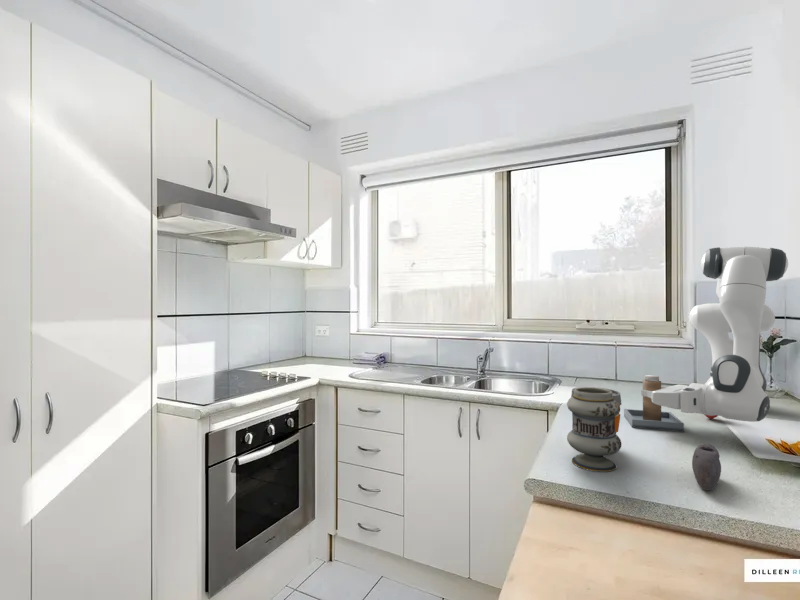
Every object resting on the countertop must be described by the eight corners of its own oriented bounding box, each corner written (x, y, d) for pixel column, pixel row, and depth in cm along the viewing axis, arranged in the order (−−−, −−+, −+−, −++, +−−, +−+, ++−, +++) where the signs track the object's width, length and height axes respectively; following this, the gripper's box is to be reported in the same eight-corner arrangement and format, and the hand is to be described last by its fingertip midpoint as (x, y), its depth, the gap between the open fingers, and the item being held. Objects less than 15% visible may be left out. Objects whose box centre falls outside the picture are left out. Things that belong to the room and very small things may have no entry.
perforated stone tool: (720, 499, 85) (720, 464, 85) (688, 492, 88) (688, 458, 88) (721, 475, 97) (721, 444, 97) (693, 469, 100) (693, 440, 100)
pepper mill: (642, 418, 142) (642, 374, 142) (660, 419, 139) (660, 375, 139) (643, 421, 137) (643, 376, 137) (662, 423, 135) (662, 378, 135)
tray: (624, 416, 147) (624, 408, 147) (670, 419, 143) (670, 412, 143) (632, 427, 134) (632, 419, 134) (683, 431, 129) (683, 423, 129)
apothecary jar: (575, 451, 112) (575, 383, 112) (626, 462, 104) (626, 389, 104) (560, 465, 103) (560, 390, 103) (614, 478, 95) (614, 397, 95)
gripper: (710, 383, 134) (662, 377, 145) (684, 392, 122) (634, 384, 133) (710, 403, 134) (662, 396, 145) (684, 414, 122) (634, 404, 133)
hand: (649, 390), depth 139 cm, fingers open, 8 cm apart
